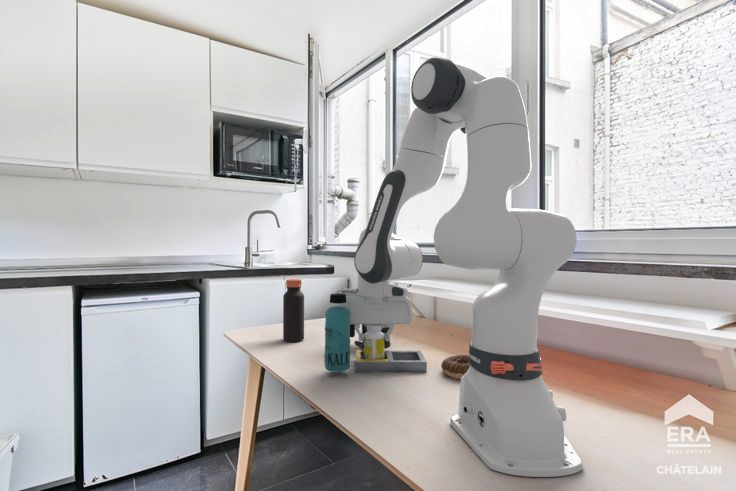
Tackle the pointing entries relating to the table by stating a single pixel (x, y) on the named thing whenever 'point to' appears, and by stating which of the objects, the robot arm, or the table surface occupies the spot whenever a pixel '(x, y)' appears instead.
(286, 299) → the vinegar
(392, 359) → the grey compartment tray
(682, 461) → the table surface
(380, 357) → the supplement bottle
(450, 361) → the donut
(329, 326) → the beverage bottle
